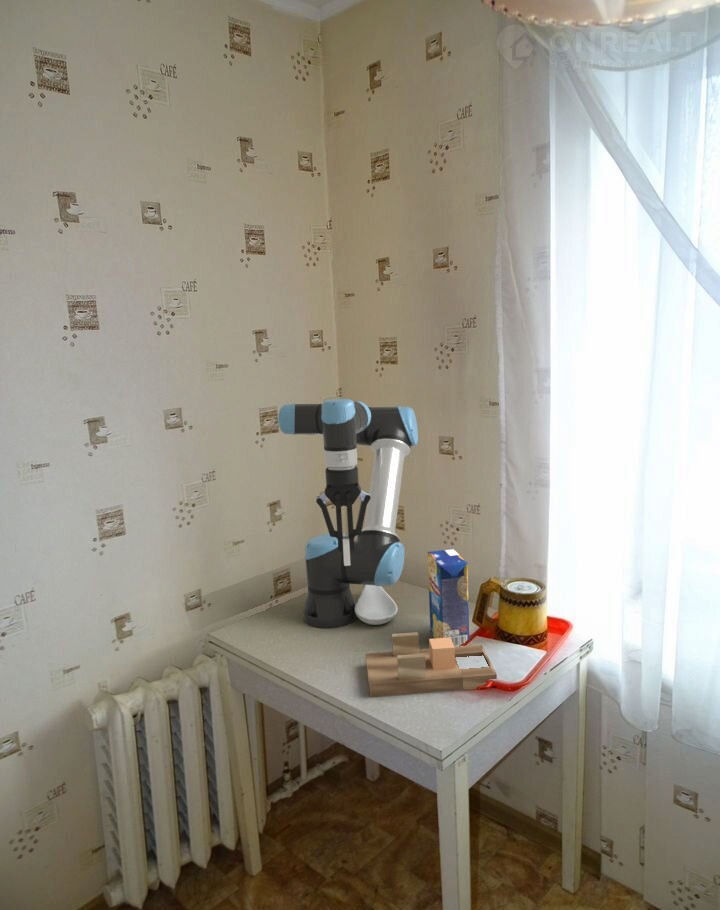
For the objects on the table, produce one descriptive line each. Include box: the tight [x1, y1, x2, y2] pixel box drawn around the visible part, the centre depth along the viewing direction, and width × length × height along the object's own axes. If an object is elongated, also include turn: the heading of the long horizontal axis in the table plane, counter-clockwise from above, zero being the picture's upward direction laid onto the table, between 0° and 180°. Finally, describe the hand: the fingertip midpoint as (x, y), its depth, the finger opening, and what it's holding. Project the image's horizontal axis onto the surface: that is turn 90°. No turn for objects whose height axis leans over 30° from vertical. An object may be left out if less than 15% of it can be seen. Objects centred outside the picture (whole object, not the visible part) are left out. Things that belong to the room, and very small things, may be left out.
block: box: [428, 637, 455, 670], centre depth 153 cm, size 5×5×5 cm
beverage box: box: [427, 548, 470, 647], centre depth 170 cm, size 7×11×22 cm, turn 11°
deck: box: [365, 631, 498, 698], centre depth 154 cm, size 14×28×8 cm, turn 93°
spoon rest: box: [355, 585, 398, 626], centre depth 190 cm, size 24×12×7 cm, turn 6°
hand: (347, 563), depth 160 cm, fingers closed
